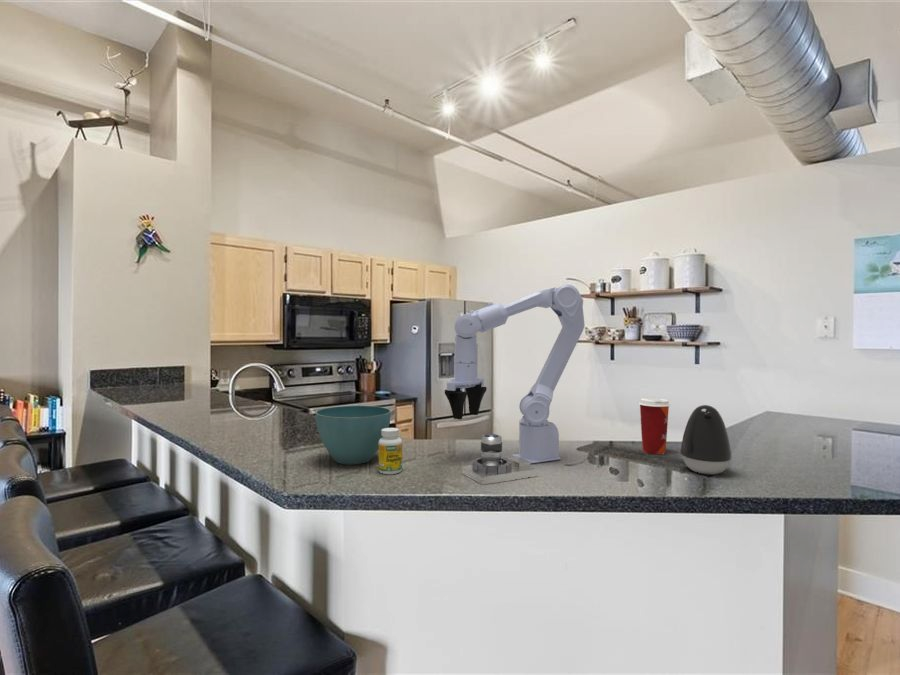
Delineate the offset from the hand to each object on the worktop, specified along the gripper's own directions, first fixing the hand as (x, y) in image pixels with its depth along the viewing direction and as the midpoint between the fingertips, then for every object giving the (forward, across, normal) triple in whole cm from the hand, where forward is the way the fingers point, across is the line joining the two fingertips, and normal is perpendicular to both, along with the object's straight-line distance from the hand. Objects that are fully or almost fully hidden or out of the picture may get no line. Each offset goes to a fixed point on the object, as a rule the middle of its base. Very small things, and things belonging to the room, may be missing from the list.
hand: (466, 416), depth 122 cm
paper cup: (+11, -34, +38) cm, 52 cm away
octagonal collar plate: (+10, +8, +14) cm, 19 cm away
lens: (+9, +10, +13) cm, 18 cm away
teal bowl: (+11, +18, -22) cm, 30 cm away
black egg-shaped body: (+11, -21, +51) cm, 57 cm away
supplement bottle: (+11, +20, -8) cm, 24 cm away
